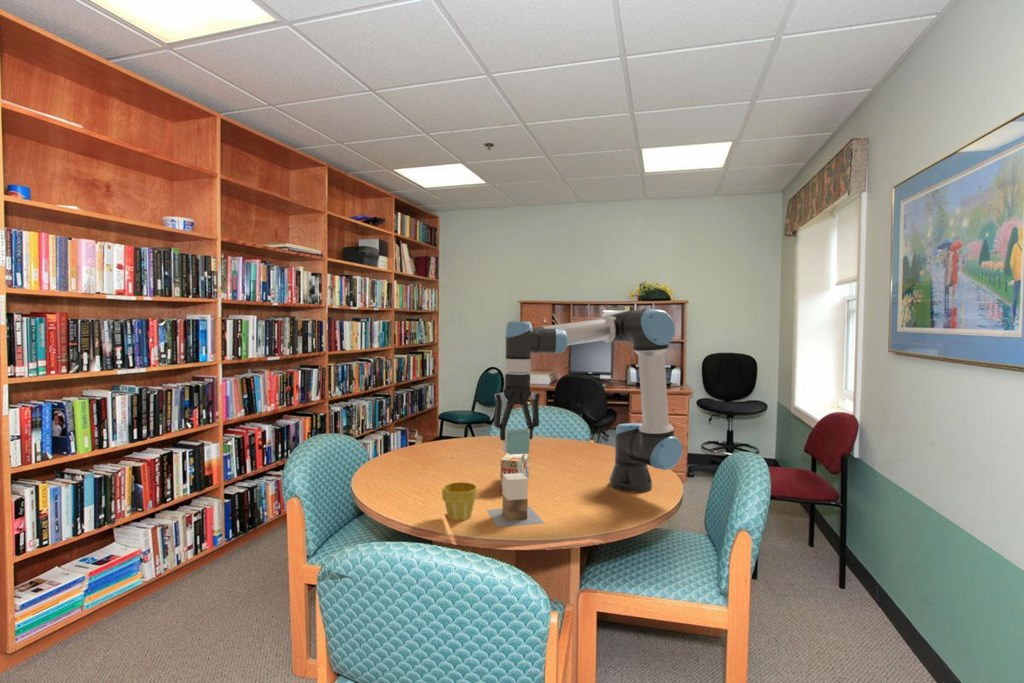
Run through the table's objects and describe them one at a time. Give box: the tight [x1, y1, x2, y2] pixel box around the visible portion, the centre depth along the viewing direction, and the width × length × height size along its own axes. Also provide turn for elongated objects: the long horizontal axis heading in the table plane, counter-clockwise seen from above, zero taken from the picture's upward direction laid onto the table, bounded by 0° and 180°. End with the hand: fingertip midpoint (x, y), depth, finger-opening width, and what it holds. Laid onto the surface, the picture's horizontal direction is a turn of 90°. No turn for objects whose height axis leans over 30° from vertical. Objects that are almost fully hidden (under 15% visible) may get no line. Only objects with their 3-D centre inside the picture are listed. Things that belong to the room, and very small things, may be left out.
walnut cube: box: [501, 494, 529, 521], centre depth 152 cm, size 6×6×6 cm
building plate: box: [486, 506, 545, 528], centre depth 152 cm, size 14×14×1 cm
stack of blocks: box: [499, 452, 530, 495], centre depth 185 cm, size 21×6×12 cm, turn 168°
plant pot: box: [441, 481, 478, 522], centre depth 151 cm, size 10×10×10 cm
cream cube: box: [501, 473, 529, 500], centre depth 151 cm, size 6×6×6 cm
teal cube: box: [506, 428, 530, 455], centre depth 151 cm, size 6×6×6 cm
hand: (516, 450), depth 151 cm, fingers closed on teal cube, 6 cm apart
